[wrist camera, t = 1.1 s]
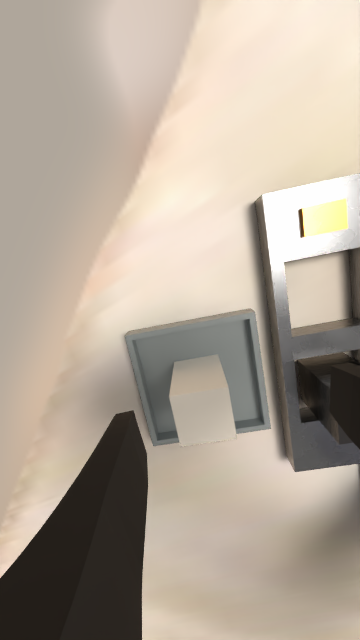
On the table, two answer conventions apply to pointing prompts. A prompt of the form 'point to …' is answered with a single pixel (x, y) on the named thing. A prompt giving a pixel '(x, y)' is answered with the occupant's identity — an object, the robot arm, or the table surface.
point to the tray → (194, 342)
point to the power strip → (327, 338)
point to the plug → (201, 402)
